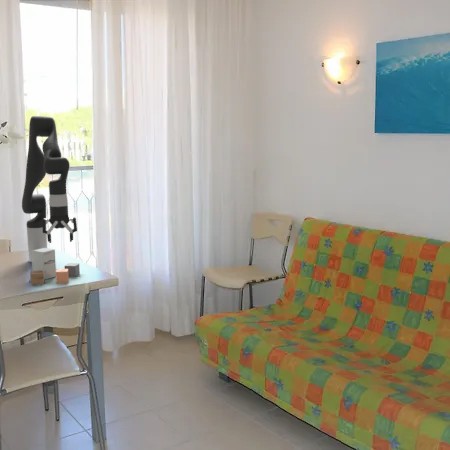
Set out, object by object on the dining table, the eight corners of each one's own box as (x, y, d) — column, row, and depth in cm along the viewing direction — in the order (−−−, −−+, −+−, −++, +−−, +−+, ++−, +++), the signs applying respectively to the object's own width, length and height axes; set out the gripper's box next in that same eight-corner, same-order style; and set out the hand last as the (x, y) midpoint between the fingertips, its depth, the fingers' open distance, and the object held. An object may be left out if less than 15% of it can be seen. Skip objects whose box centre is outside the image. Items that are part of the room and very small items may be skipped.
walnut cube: (30, 282, 262) (29, 271, 261) (42, 281, 264) (42, 270, 263) (31, 285, 258) (31, 274, 257) (44, 284, 260) (43, 272, 259)
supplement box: (43, 280, 266) (42, 252, 263) (32, 278, 269) (30, 250, 267) (56, 276, 272) (55, 249, 270) (45, 274, 276) (43, 247, 273)
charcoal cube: (69, 273, 277) (68, 263, 276) (79, 274, 276) (79, 263, 276) (65, 276, 272) (64, 265, 271) (75, 277, 271) (75, 266, 271)
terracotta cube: (56, 280, 266) (56, 269, 265) (68, 279, 267) (68, 268, 266) (56, 283, 261) (55, 272, 260) (68, 282, 262) (67, 271, 261)
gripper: (75, 202, 263) (77, 239, 266) (41, 204, 260) (43, 241, 263) (75, 205, 256) (77, 242, 259) (40, 206, 253) (42, 244, 256)
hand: (60, 242), depth 261 cm, fingers open, 8 cm apart
